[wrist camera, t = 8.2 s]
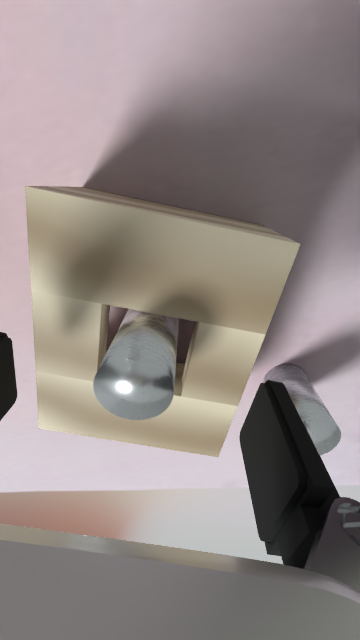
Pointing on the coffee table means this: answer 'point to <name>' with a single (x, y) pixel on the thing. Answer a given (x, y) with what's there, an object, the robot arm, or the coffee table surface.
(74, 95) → the coffee table surface
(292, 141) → the coffee table surface
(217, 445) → the bridge
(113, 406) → the long pin
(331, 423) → the medium pin
